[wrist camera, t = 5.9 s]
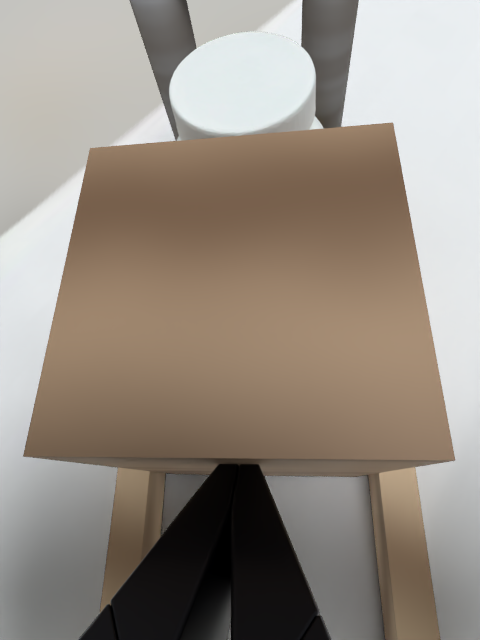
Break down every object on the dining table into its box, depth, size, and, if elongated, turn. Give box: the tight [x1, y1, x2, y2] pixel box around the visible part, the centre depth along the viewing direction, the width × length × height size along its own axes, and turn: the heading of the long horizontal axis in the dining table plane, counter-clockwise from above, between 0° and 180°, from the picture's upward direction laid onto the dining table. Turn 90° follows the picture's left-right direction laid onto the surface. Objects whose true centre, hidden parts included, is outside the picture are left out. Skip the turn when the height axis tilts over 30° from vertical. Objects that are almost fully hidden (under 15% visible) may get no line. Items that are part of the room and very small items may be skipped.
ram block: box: [23, 123, 455, 477], centre depth 12 cm, size 7×7×10 cm
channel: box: [100, 0, 440, 640], centre depth 12 cm, size 23×10×11 cm, turn 179°
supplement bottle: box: [169, 31, 324, 141], centre depth 15 cm, size 5×5×10 cm
